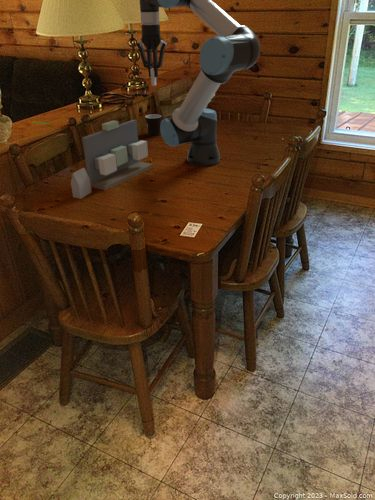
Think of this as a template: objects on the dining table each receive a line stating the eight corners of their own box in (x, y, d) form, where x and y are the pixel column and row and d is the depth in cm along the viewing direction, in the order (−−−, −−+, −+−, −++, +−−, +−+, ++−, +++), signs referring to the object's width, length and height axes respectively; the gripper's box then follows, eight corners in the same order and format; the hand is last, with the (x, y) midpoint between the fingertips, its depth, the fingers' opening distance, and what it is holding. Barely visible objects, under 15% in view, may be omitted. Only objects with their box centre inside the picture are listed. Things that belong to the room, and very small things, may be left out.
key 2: (148, 156, 188) (147, 141, 185) (138, 160, 184) (137, 145, 180) (133, 152, 193) (131, 138, 189) (123, 156, 188) (122, 142, 185)
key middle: (128, 161, 183) (126, 146, 179) (117, 166, 178) (115, 151, 175) (113, 158, 187) (111, 143, 184) (102, 162, 182) (100, 147, 179)
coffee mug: (160, 137, 230) (159, 118, 225) (144, 136, 232) (143, 118, 226) (165, 131, 240) (164, 113, 234) (150, 130, 241) (149, 112, 236)
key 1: (116, 170, 174) (115, 154, 171) (105, 175, 170) (103, 159, 167) (101, 166, 179) (99, 151, 175) (90, 171, 174) (88, 155, 171)
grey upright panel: (152, 167, 192) (148, 116, 181) (105, 190, 171) (98, 134, 160) (125, 161, 200) (120, 111, 188) (77, 182, 179) (68, 128, 168)
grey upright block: (91, 192, 171) (88, 168, 165) (80, 198, 166) (76, 174, 160) (84, 190, 172) (80, 166, 167) (73, 197, 167) (68, 172, 162)
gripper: (168, 23, 176) (170, 83, 189) (138, 23, 179) (142, 83, 191) (163, 24, 170) (165, 87, 182) (132, 24, 173) (136, 86, 185)
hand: (153, 85), depth 187 cm, fingers closed
